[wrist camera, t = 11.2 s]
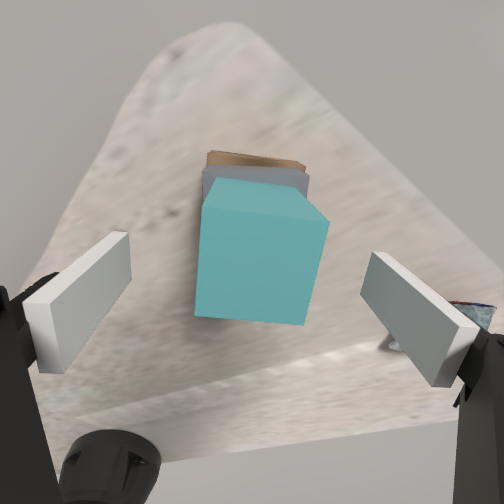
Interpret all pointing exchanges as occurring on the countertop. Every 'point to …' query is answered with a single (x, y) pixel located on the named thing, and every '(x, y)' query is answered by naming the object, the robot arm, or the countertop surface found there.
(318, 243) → the teal block
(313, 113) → the countertop surface
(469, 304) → the packaged food
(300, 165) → the walnut base
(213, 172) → the charcoal block
